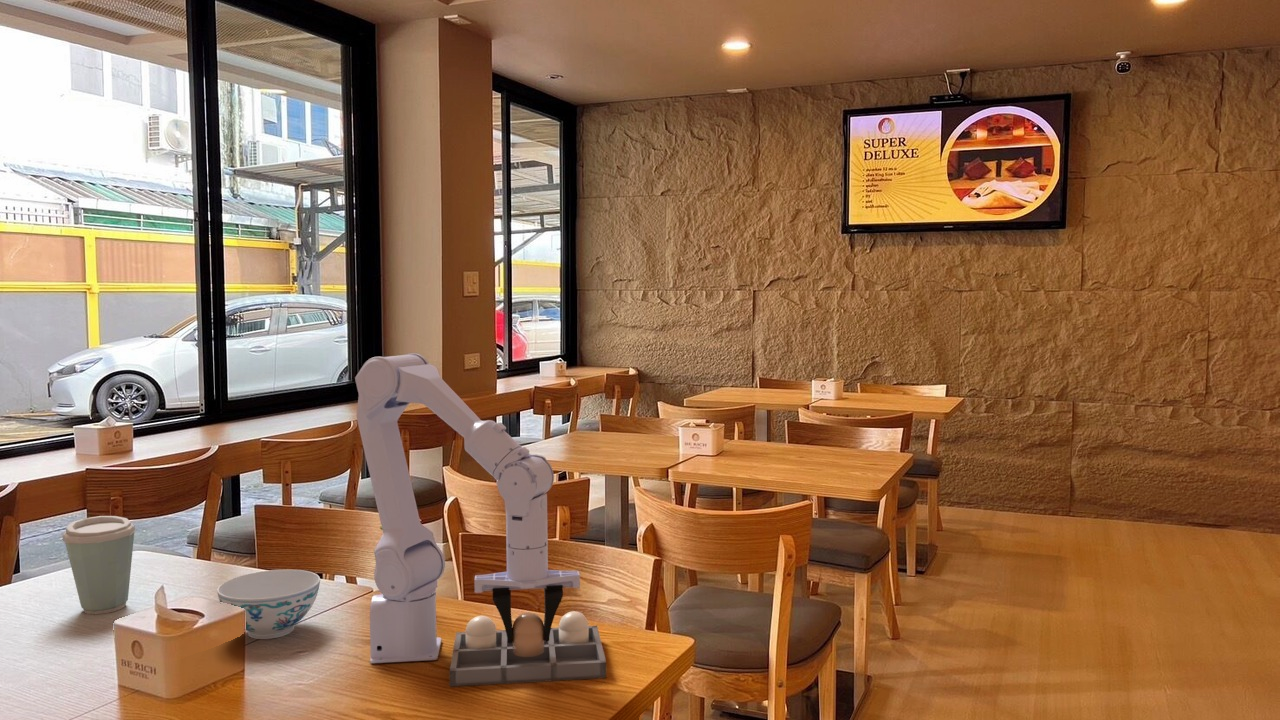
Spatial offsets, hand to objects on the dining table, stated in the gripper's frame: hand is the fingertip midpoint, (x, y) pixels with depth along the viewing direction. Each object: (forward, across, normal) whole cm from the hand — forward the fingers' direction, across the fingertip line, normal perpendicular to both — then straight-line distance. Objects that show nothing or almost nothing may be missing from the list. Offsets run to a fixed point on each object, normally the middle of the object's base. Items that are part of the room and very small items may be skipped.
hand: (528, 639), depth 130 cm
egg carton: (+4, 0, +3) cm, 6 cm away
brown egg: (+2, 0, 0) cm, 2 cm away
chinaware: (+5, -40, +21) cm, 46 cm away
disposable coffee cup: (+5, -71, +36) cm, 80 cm away
